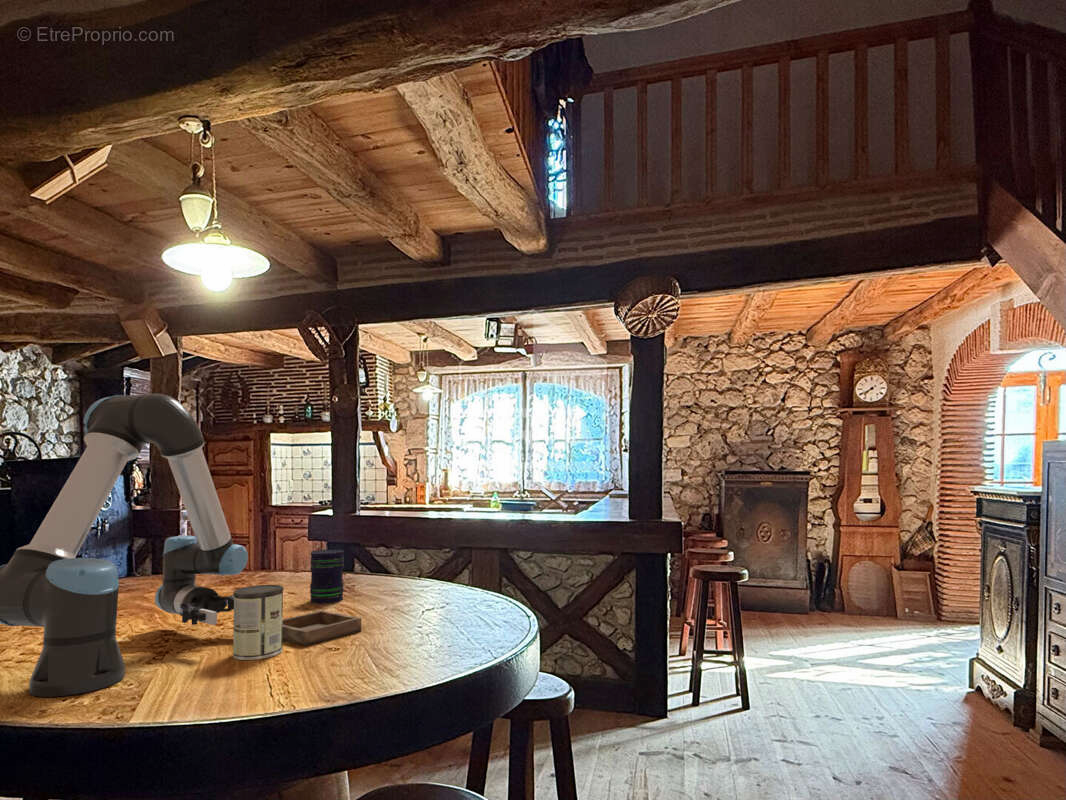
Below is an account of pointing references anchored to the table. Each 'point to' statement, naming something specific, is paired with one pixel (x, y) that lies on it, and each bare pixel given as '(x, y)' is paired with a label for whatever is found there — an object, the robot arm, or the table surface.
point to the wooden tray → (318, 627)
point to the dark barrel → (326, 576)
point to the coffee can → (257, 622)
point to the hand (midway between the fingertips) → (244, 612)
